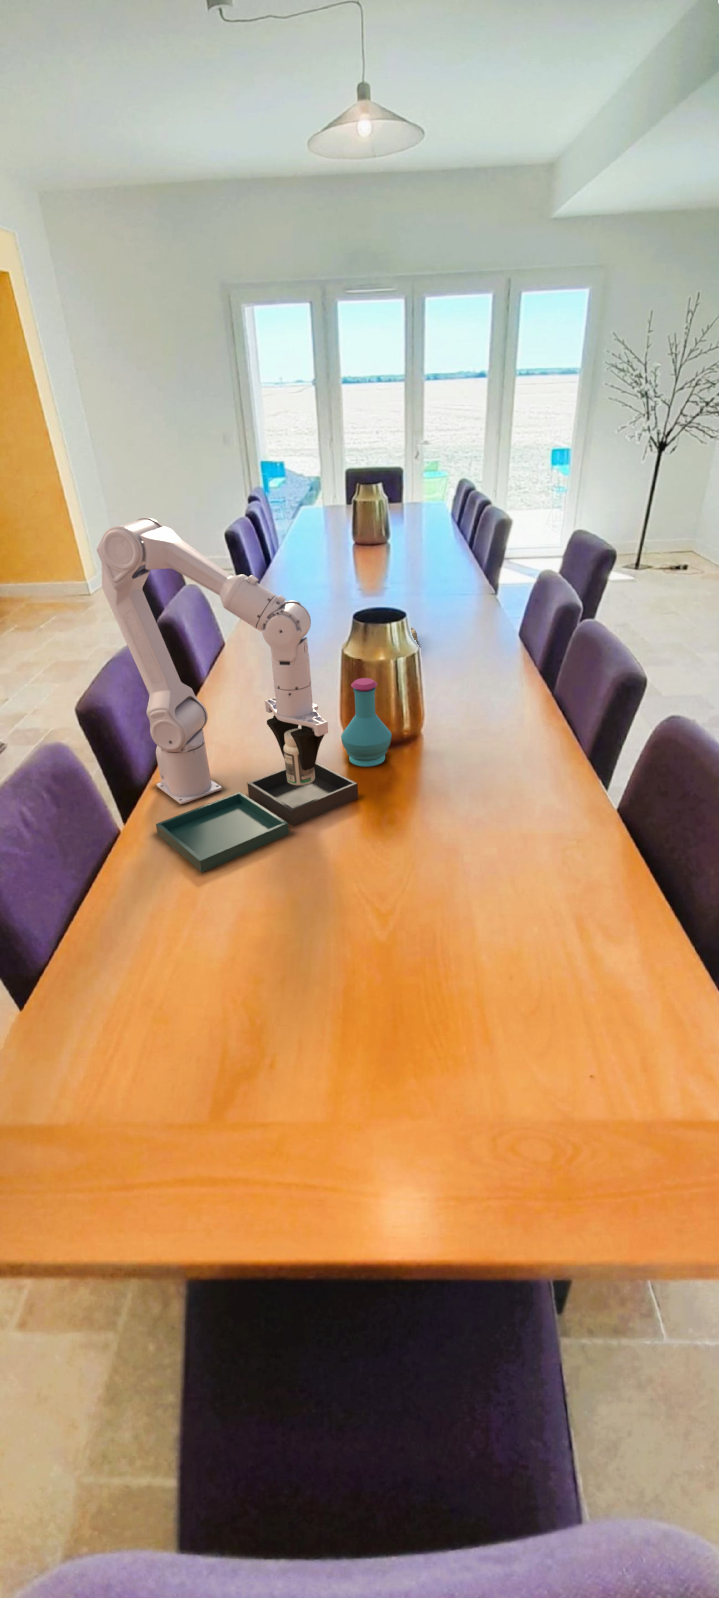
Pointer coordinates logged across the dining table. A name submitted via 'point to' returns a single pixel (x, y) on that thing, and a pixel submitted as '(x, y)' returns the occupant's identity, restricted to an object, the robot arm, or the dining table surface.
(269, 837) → the tray
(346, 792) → the bin
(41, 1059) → the dining table surface
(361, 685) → the perfume bottle
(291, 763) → the pill bottle
